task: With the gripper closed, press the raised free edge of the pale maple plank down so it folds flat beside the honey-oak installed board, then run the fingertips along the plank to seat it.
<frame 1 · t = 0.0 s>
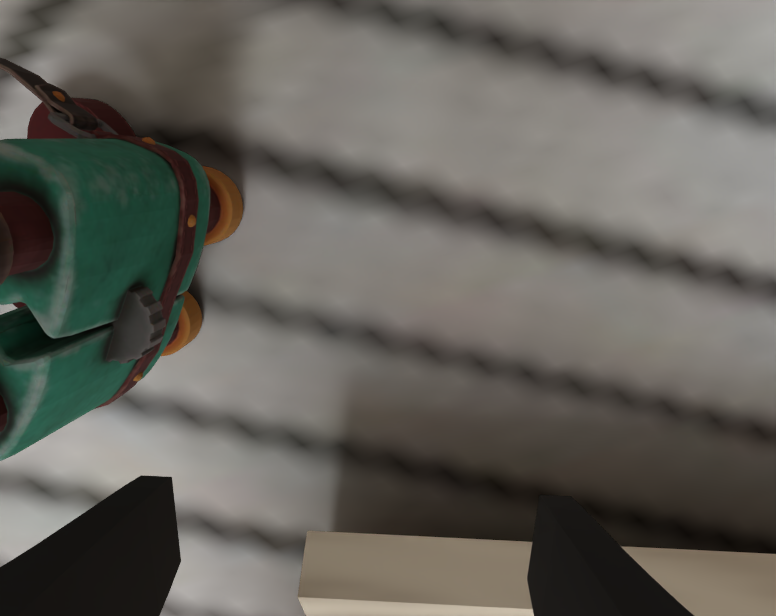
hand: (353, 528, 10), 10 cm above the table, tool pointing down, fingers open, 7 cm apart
binoculars: (111, 225, 19), on the table
maple plank: (629, 610, 19), point 3 cm above the table, hinge at 30.0°
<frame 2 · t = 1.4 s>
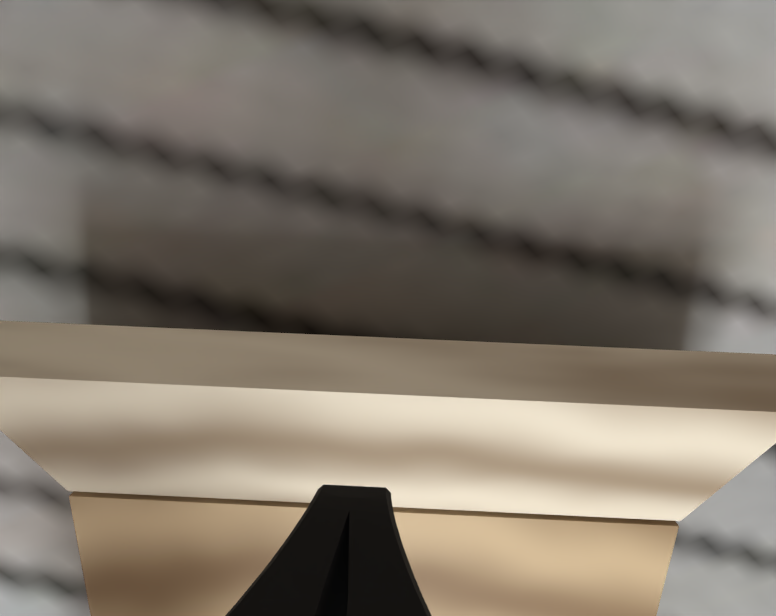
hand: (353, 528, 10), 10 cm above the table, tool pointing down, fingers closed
installed board: (371, 554, 23), on the table
maple plank: (372, 432, 18), point 3 cm above the table, hinge at 30.0°
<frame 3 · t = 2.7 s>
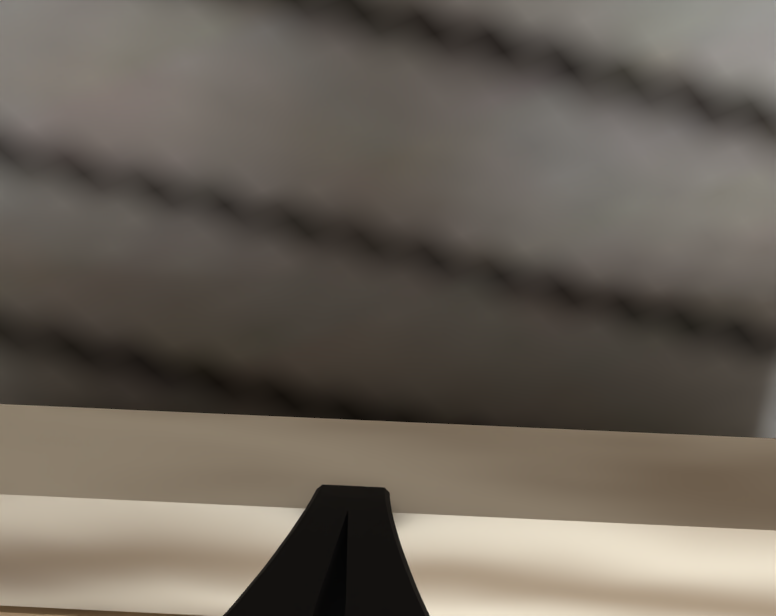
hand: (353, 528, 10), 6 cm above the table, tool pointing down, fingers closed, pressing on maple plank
maple plank: (359, 537, 13), point 3 cm above the table, hinge at 28.1°, touching gripper
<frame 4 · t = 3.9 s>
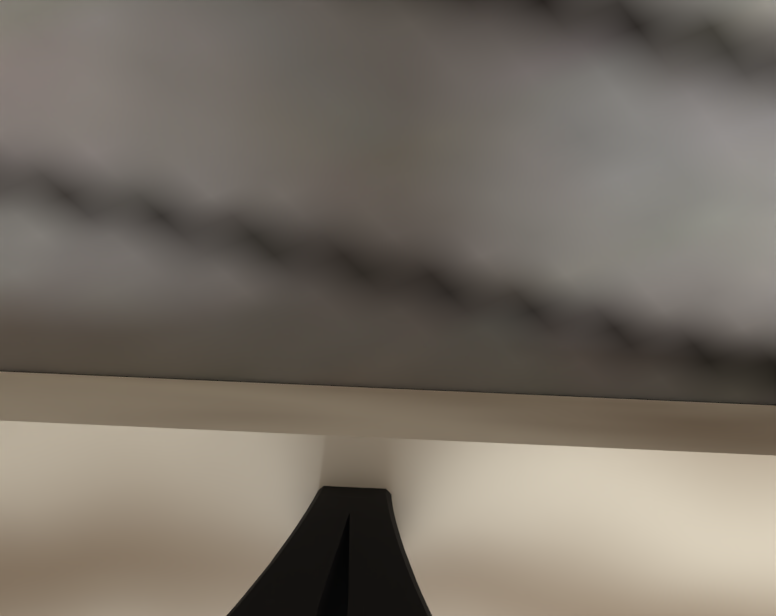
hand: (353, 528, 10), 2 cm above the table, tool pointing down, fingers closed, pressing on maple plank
maple plank: (352, 568, 11), point 1 cm above the table, hinge at 0.2°, touching gripper
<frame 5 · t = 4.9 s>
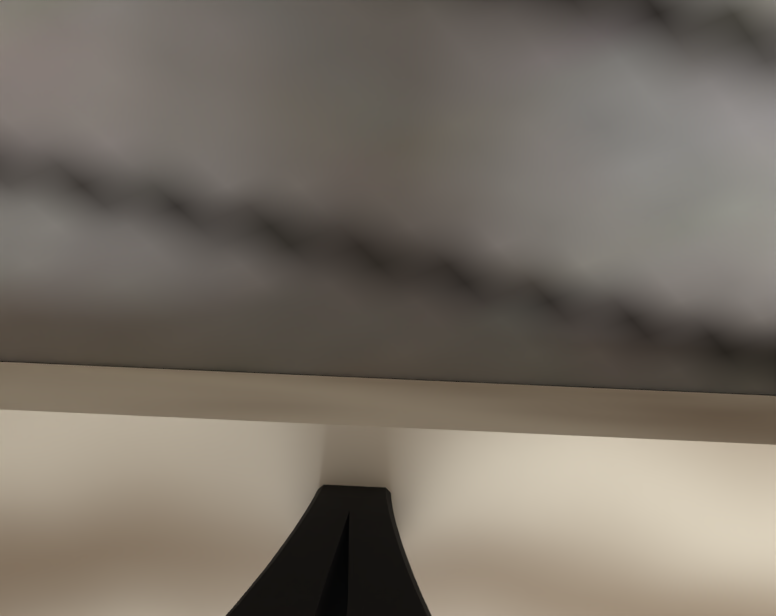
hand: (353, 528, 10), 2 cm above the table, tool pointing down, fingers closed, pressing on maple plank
maple plank: (367, 559, 11), point 1 cm above the table, hinge at 0.2°, touching gripper
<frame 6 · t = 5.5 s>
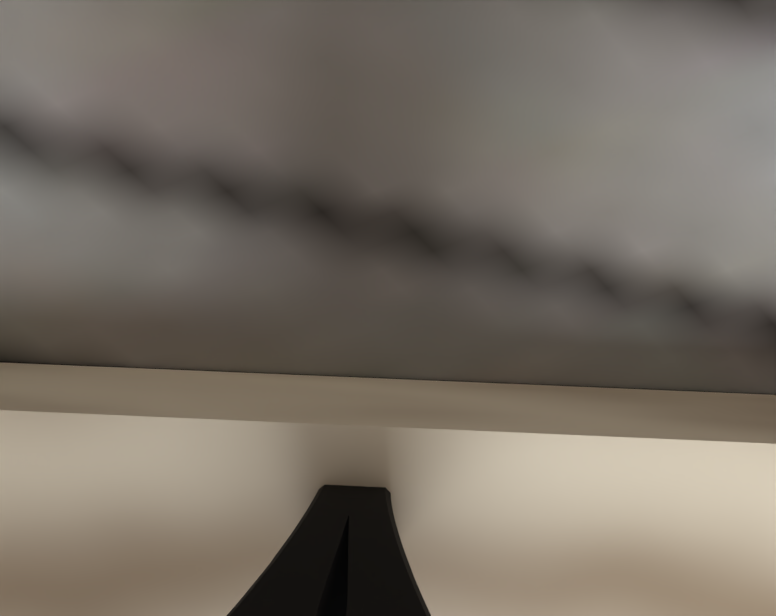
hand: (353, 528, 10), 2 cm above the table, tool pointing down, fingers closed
maple plank: (498, 565, 11), point 1 cm above the table, hinge at 0.2°, touching gripper
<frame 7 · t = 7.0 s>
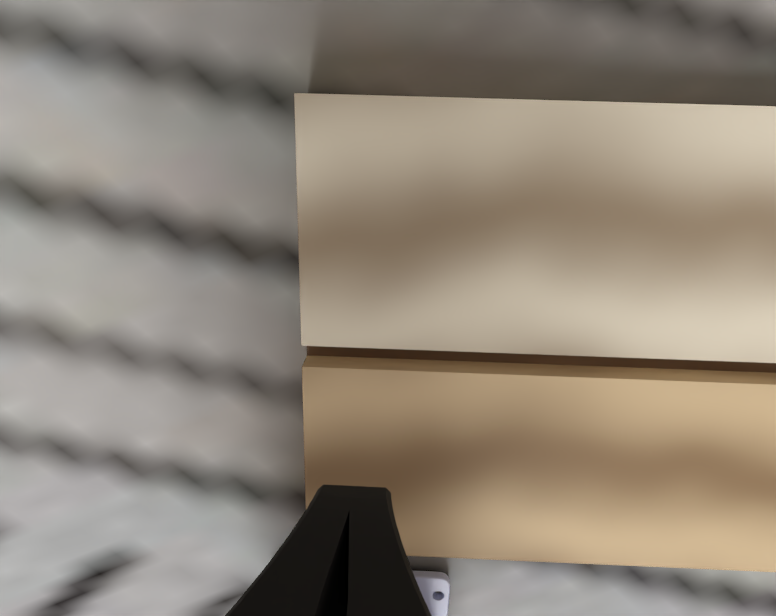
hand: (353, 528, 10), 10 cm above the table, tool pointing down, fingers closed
installed board: (608, 447, 21), on the table
maple plank: (663, 235, 17), point 1 cm above the table, hinge at 0.2°
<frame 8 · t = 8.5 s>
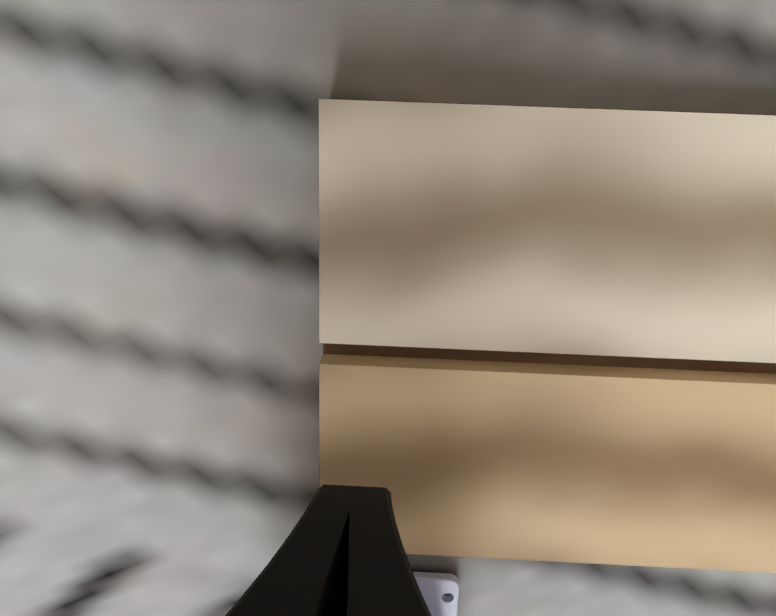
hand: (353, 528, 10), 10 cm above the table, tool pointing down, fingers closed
installed board: (616, 448, 21), on the table
maple plank: (670, 239, 18), point 1 cm above the table, hinge at 0.2°
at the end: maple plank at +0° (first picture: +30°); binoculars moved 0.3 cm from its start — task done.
